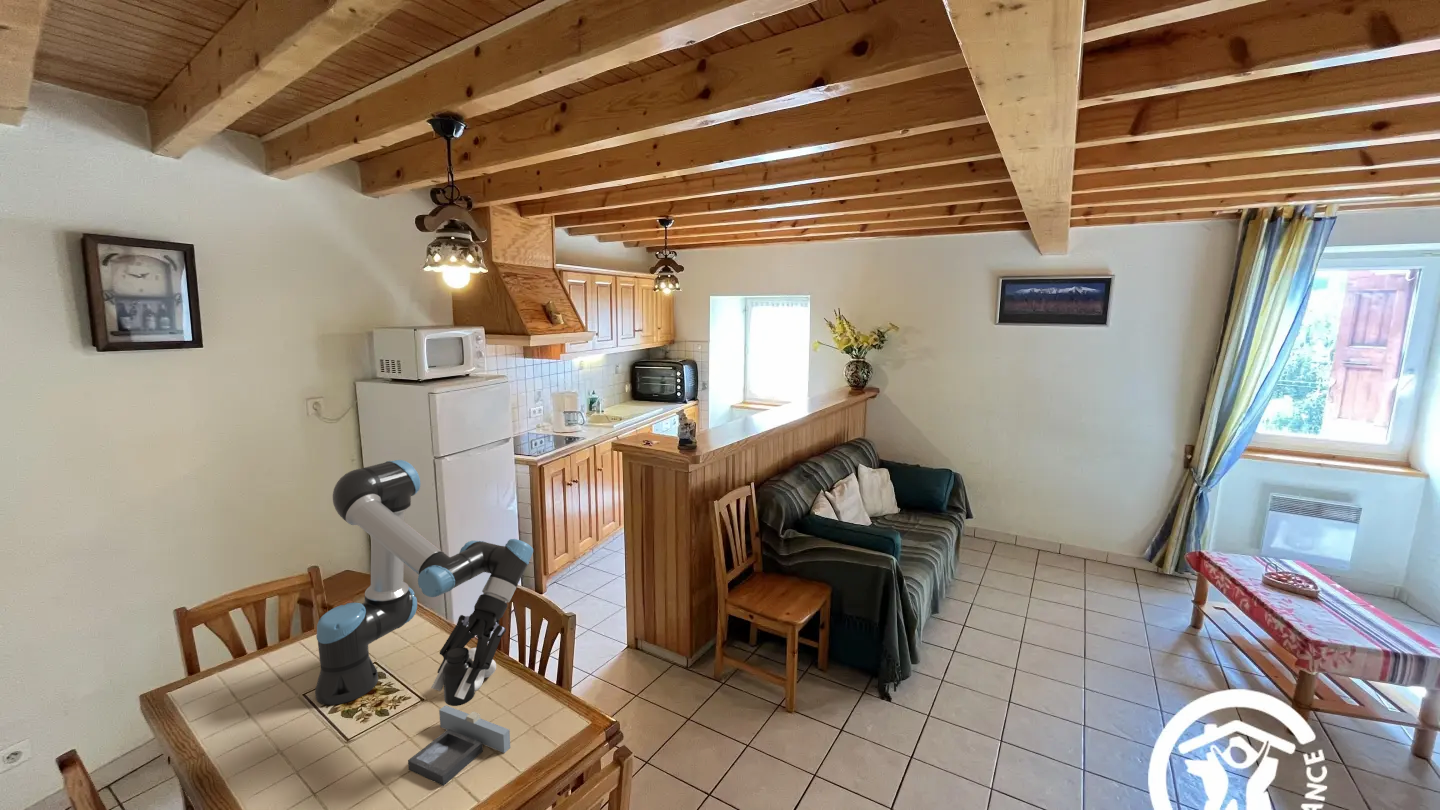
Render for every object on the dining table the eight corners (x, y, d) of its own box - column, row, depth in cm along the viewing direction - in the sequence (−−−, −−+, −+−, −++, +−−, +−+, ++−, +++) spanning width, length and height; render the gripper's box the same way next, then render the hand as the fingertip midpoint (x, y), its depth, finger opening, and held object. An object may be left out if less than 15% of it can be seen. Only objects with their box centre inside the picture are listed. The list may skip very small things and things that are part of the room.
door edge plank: (440, 727, 147) (438, 705, 146) (446, 722, 149) (445, 700, 148) (504, 753, 138) (502, 730, 138) (510, 747, 140) (509, 725, 139)
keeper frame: (408, 769, 133) (407, 760, 133) (449, 737, 144) (448, 728, 143) (443, 785, 129) (442, 776, 128) (482, 751, 139) (482, 742, 139)
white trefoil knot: (498, 667, 173) (496, 640, 172) (495, 691, 162) (494, 663, 160) (457, 674, 169) (456, 647, 168) (452, 699, 158) (450, 670, 157)
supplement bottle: (464, 709, 133) (461, 662, 131) (438, 705, 134) (435, 659, 132) (481, 690, 140) (478, 646, 138) (456, 686, 141) (453, 642, 139)
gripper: (532, 611, 145) (488, 707, 132) (474, 596, 152) (427, 686, 140) (517, 601, 139) (469, 701, 127) (457, 586, 146) (406, 679, 134)
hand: (447, 693), depth 133 cm, fingers closed on supplement bottle, 7 cm apart
